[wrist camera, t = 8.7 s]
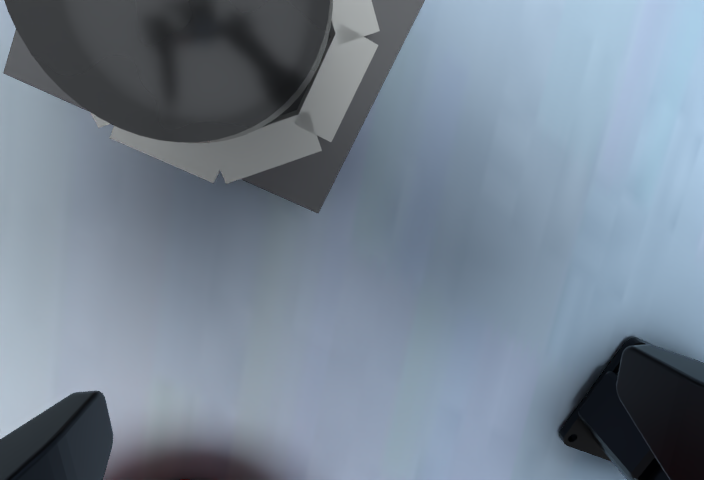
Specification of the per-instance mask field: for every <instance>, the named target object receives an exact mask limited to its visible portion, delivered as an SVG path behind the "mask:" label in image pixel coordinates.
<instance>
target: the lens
mask: <svg viewBox="0 0 704 480" xmlns="http://www.w3.org/2000/svg"><path fill="white" fill-rule="evenodd" d="M5 3H6V6H7V9H8V12H9V14H10V16H11V18H12V21H13V23H14V25H15V27H16V29H17V31H18V33H19V35H20V37H21V38H22V40H23V42H24V43H25V45H26V46H27V48H28V50H29V51H30V53H31V55H32V56H33V57H34V59H35V60H36V61H37V62H38V64H39V65H40V66H41V68H42V69H43V70H44V71H45V73H46V74H47V75H48V76H49V77H50V78H51V79H52V80H53V81H54V82H55V83H56V84H57V85H58V86H59V87H60V88H61V89H62V91H64V92H65V93H66V94H67V95H68V96H70V97H71V98H72V99H73V100H74V101H76V102H77V103H78V104H79V105H80V106H82V107H83V108H85V109H86V110H88V111H89V112H91V113H93V114H94V115H96V116H97V117H99V118H100V119H102V120H104V121H106V122H108V123H110V124H112V125H114V126H116V127H118V128H120V129H123V130H126V131H128V132H131V133H134V134H137V135H139V136H144V137H148V138H152V139H156V140H162V141H170V142H184V143H212V142H219V141H226V140H229V139H233V138H237V137H240V136H243V135H246V134H248V133H250V132H253V131H255V130H257V129H260V128H261V127H263V126H264V125H266V124H268V123H269V122H271V121H273V120H274V119H276V118H277V117H278V116H279V115H280V114H282V113H283V112H284V111H285V110H287V109H288V108H289V107H290V106H291V105H292V104H293V103H294V101H295V100H296V99H297V98H298V97H299V96H300V95H301V94H302V92H303V91H304V89H305V88H306V87H307V85H308V84H309V82H310V81H311V79H312V77H313V75H314V73H315V72H316V70H317V68H318V66H319V64H320V61H321V59H322V56H323V53H324V51H325V48H326V45H327V40H328V36H329V32H330V28H331V19H332V11H333V0H5Z"/></svg>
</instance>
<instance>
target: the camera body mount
mask: <svg viewBox="0 0 704 480" xmlns="http://www.w3.org/2000/svg"><path fill="white" fill-rule="evenodd" d="M424 1H425V0H333V11H332V19H331V28H330V32H329V36H328V40H327V45H326V48H325V51H324V53H323V56H322V59H321V61H320V64H319V66H318V68H317V70H316V72H315V73H314V75H313V77H312V79H311V81H310V82H309V84H308V85H307V87H306V88H305V89H304V91H303V92H302V94H301V95H300V96H299V97H298V98H297V99H296V100H295V101H294V103H293V104H292V105H291V106H290V107H289V108H288V109H287V110H285V111H284V112H283V113H282V114H280V115H279V116H278V117H277V118H276V119H274V120H273V121H271V122H269V123H268V124H266V125H264V126H263V127H261V128H260V129H257V130H255V131H253V132H250V133H248V134H246V135H243V136H240V137H237V138H233V139H229V140H226V141H219V142H212V143H184V142H170V141H162V140H156V139H152V138H148V137H144V136H139V135H137V134H134V133H131V132H128V131H126V130H123V129H120V128H118V127H116V126H114V127H113V130H112V133H111V135H110V139H112V140H115V141H117V142H119V143H121V144H124V145H126V146H128V147H131V148H133V149H135V150H138V151H140V152H142V153H144V154H147V155H149V156H151V157H154V158H156V159H158V160H160V161H163V162H165V163H167V164H170V165H172V166H174V167H177V168H179V169H181V170H183V171H186V172H188V173H190V174H193V175H195V176H197V177H199V178H202V179H204V180H206V181H209V182H211V183H214V182H215V180H216V178H217V176H218V175H219V173H220V171H221V173H222V176H223V178H224V180H225V183H226V184H228V183H231V182H234V181H237V180H239V179H242V180H244V181H246V182H248V183H251V184H253V185H255V186H257V187H260V188H262V189H264V190H266V191H269V192H271V193H273V194H275V195H278V196H280V197H282V198H284V199H287V200H289V201H291V202H293V203H296V204H298V205H300V206H302V207H305V208H307V209H309V210H311V211H314V212H316V213H319V211H320V209H321V207H322V205H323V203H324V201H325V199H326V197H327V195H328V193H329V191H330V189H331V187H332V185H333V183H334V181H335V179H336V177H337V175H338V173H339V171H340V169H341V167H342V165H343V163H344V161H345V159H346V157H347V155H348V153H349V151H350V149H351V147H352V145H353V143H354V141H355V139H356V137H357V135H358V133H359V131H360V129H361V127H362V125H363V123H364V121H365V119H366V117H367V115H368V113H369V111H370V109H371V107H372V105H373V103H374V101H375V99H376V97H377V95H378V93H379V91H380V89H381V87H382V85H383V83H384V81H385V79H386V77H387V75H388V73H389V71H390V69H391V67H392V65H393V63H394V61H395V59H396V57H397V55H398V53H399V51H400V49H401V47H402V45H403V43H404V41H405V39H406V37H407V35H408V33H409V31H410V29H411V27H412V25H413V23H414V21H415V19H416V17H417V15H418V13H419V11H420V9H421V7H422V5H423V3H424ZM4 74H6V75H8V76H11V77H13V78H15V79H17V80H20V81H22V82H24V83H26V84H29V85H31V86H33V87H35V88H38V89H40V90H42V91H44V92H47V93H49V94H51V95H53V96H56V97H58V98H60V99H62V100H65V101H67V102H69V103H71V104H73V105H76V106H78V107H80V108H82V109H85V108H83V107H82V106H80V105H79V104H78V103H77V102H76V101H74V100H73V99H72V98H71V97H70V96H68V95H67V94H66V93H65V92H64V91H62V89H61V88H60V87H59V86H58V85H57V84H56V83H55V82H54V81H53V80H52V79H51V78H50V77H49V76H48V75H47V74H46V73H45V71H44V70H43V69H42V68H41V66H40V65H39V64H38V62H37V61H36V60H35V59H34V57H33V56H32V55H31V53H30V51H29V50H28V48H27V46H26V45H25V43H24V42H23V40H22V38H21V37H20V35H19V33H18V31H17V29H16V31H15V35H14V38H13V42H12V45H11V48H10V52H9V55H8V59H7V62H6V66H5V69H4ZM85 110H86V109H85ZM87 111H88V110H87ZM90 113H91V112H90ZM91 114H92V116H93V118H94V120H95V122H96V124H97V126H98V128H100V127H103V126H106V125H109V124H110V123H108V122H106V121H104V120H102V119H100V118H99V117H97V116H96V115H94V114H93V113H91Z"/></svg>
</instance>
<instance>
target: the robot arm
mask: <svg viewBox="0 0 704 480" xmlns="http://www.w3.org/2000/svg"><path fill="white" fill-rule="evenodd" d="M559 436H560V438H561V440H562V441H563V442H564V444H565V445H567V446H570V447H573V448H575V449H578V450H581V451H584V452H587V453H590V454H592V455H595V456H598V457H601V458H604V459H606V460H609V461H612V462H613V463H614V465H615V466H616V467H617V468H618V469H619V471H620V472H621V473H622V474H623V475H624V477H625V478H626V479H627V480H704V363H703V362H700V361H697V360H694V359H691V358H688V357H685V356H682V355H679V354H677V353H674V352H671V351H668V350H665V349H662V348H659V347H656V346H653V345H651V344H649V343H647V342H645V341H642V340H640V339H638V338H631V339H629V340H627V341H626V342H625V343H624V345H623V346H622V347H621V349H620V350H619V351H618V353H617V354H616V356H615V357H614V358H613V360H612V361H611V362H610V364H609V365H608V366H607V368H606V369H605V370H604V372H603V373H602V375H601V376H600V377H599V379H598V380H597V381H596V383H595V384H594V385H593V387H592V388H591V389H590V391H589V392H588V394H587V395H586V396H585V398H584V399H583V400H582V402H581V403H580V404H579V406H578V407H577V409H576V410H575V411H574V413H573V414H572V415H571V417H570V418H569V419H568V421H567V422H566V423H565V425H564V426H563V428H562V429H561V430H560V432H559ZM112 444H113V431H112V427H111V422H110V418H109V413H108V409H107V404H106V400H105V397H104V395H103V393H101V392H100V391H88V392H76V393H73V394H71V395H69V396H68V397H66V398H65V399H63V400H61V401H60V402H58V403H57V404H55V405H54V406H52V407H50V408H49V409H47V410H46V411H44V412H43V413H41V414H39V415H38V416H36V417H35V418H33V419H32V420H30V421H28V422H27V423H25V424H24V425H22V426H21V427H19V428H17V429H16V430H14V431H13V432H11V433H10V434H8V435H6V436H5V437H3V438H2V439H0V480H103V477H104V474H105V470H106V467H107V463H108V460H109V456H110V452H111V449H112Z"/></svg>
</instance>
